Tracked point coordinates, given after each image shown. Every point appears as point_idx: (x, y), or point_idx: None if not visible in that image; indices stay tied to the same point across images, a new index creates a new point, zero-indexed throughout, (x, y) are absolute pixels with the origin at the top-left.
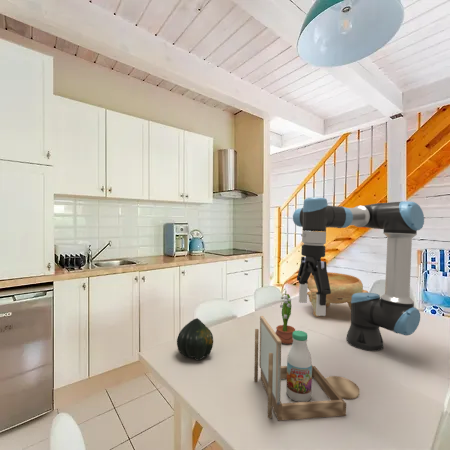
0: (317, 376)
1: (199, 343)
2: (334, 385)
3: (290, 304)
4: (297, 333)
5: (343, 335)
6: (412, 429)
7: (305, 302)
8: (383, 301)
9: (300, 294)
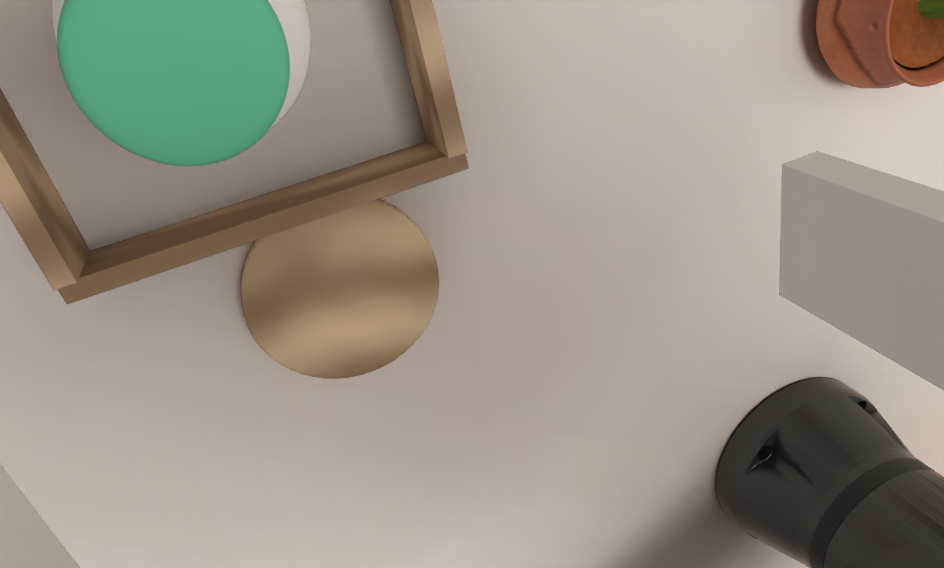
0: (379, 169)
1: None
2: (336, 257)
3: None
4: (142, 20)
5: (876, 368)
6: (91, 533)
7: (783, 273)
8: None
9: (935, 233)
